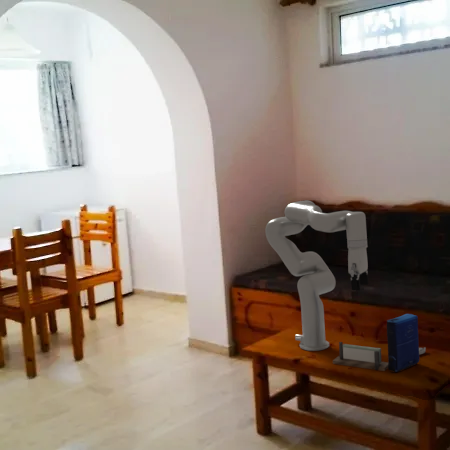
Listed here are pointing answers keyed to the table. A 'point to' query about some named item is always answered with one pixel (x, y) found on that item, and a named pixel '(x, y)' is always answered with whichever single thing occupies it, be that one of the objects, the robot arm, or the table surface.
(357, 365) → the gate frame
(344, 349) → the panel
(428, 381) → the table surface
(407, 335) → the book
